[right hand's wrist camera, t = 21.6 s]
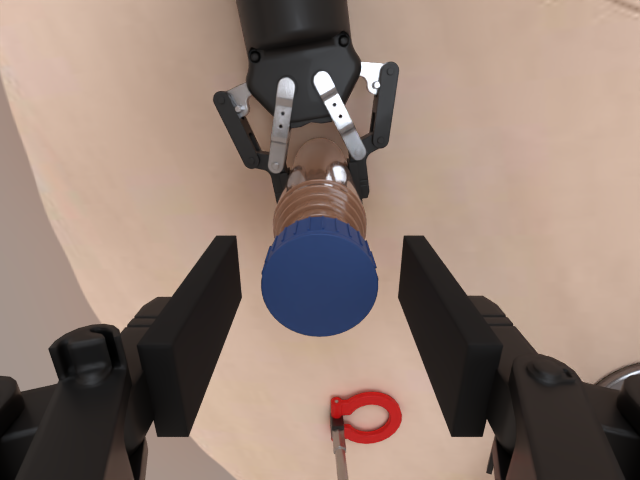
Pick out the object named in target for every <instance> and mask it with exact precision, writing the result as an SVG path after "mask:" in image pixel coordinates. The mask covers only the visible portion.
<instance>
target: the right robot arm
mask: <svg viewBox="0 0 640 480" xmlns="http://www.w3.org/2000/svg"><path fill="white" fill-rule="evenodd" d="M241 298H242V293H241V283H240V272H239V261H238V250H237V239H236V236H216V237H215V238H214V240H213V241H212V242H211V244H210V245H209V247H208V248H207V249H206V251H205V252H204V253H203V255H202V256H201V258H200V259H199V260H198V262H197V263H196V264H195V266H194V267H193V268H192V270H191V271H190V273H189V274H188V275H187V277H186V278H185V279H184V281H183V282H182V284H181V285H180V286H179V288H178V289H177V290H176V292H175V293H174V295H173V296H172V297H157V298H155V299H153V300H152V301H150V302H149V303H147V304H146V305H144V306H143V307H142V308H141V309H140V310H139V312H138V313H137V314H136V315H135V318H133V319H132V320H131V321H130V322H129V324H128V325H127V327H125V328H124V330H123V331H122V332H121V333H120V331H119V329H118V328H116V327H115V326H113V325H108V324H95V325H89V326H85V327H81V328H78V329H76V330H73V331H71V332H69V333H66V334H65V335H63V336H62V337H60V338H59V339H57V340H56V341H55V342H54V343H53V344H52V345H51V346H50V347H49V352H50V355H51V358H52V361H53V364H54V367H55V370H56V373H57V376H58V379H59V382H58V384H54V385H50V386H45V387H41V388H36V389H31V390H27V391H22V392H20V389H19V387H18V384H17V382H16V380H14V379H13V378H11V377H7V376H0V480H145V475H146V465H147V456H148V447H147V441H146V437H145V436H146V433H147V432H148V430H149V428H150V426H151V424H152V422H153V420H154V424H155V428H156V433H157V437H189V434H190V431H191V429H192V426H193V424H194V421H195V418H196V416H197V413H198V411H199V408H200V405H201V403H202V400H203V397H204V395H205V392H206V390H207V387H208V384H209V382H210V379H211V377H212V374H213V371H214V369H215V366H216V364H217V361H218V358H219V356H220V353H221V351H222V348H223V345H224V343H225V340H226V338H227V335H228V332H229V330H230V327H231V325H232V322H233V319H234V317H235V314H236V311H237V309H238V306H239V304H240V301H241ZM398 298H399V301H400V304H401V306H402V309H403V311H404V314H405V317H406V319H407V322H408V325H409V327H410V330H411V332H412V335H413V338H414V340H415V343H416V345H417V348H418V351H419V353H420V356H421V358H422V361H423V364H424V366H425V369H426V371H427V374H428V377H429V379H430V382H431V384H432V387H433V390H434V392H435V395H436V397H437V400H438V403H439V405H440V408H441V411H442V413H443V416H444V418H445V421H446V424H447V426H448V429H449V431H450V434H451V437H483V433H484V428H485V424H486V420H488V422H489V424H490V426H491V428H492V430H493V432H494V434H495V437H494V441H493V445H492V449H491V453H490V457H489V462H488V466H487V472H486V473H488V474H492V470H493V466H494V474H495V480H640V363H639V364H635V365H631V366H628V367H625V368H623V369H620V370H618V371H616V372H614V373H612V374H610V375H609V376H607V377H606V378H604V379H603V380H601V381H600V382H599V383H598V384H596V385H593V384H588V383H585V382H582V381H581V379H580V378H579V376H578V375H577V374H576V372H575V371H574V370H572V369H571V368H570V367H568V366H567V365H566V364H564V363H562V362H560V361H558V360H556V359H554V358H552V357H549V356H545V355H542V354H538V353H537V352H536V351H535V349H534V348H533V347H532V346H531V345H530V344H529V342H528V341H527V340H526V339H525V338H524V336H523V335H522V334H521V333H520V332H519V330H518V329H517V328H516V327H515V326H513V323H512V322H511V321H510V320H509V318H508V317H506V315H505V314H504V313H503V311H502V310H501V309H500V308H499V307H498V305H497V304H495V303H493V302H492V301H490V300H489V299H487V298H485V297H484V296H467V295H466V293H465V292H464V290H463V289H462V288H461V286H460V285H459V284H458V282H457V281H456V279H455V278H454V277H453V275H452V274H451V273H450V271H449V270H448V268H447V267H446V266H445V264H444V263H443V262H442V260H441V259H440V258H439V256H438V255H437V253H436V252H435V251H434V249H433V248H432V247H431V245H430V244H429V242H428V241H427V240H426V238H425V237H424V236H404V239H403V250H402V261H401V272H400V283H399V293H398Z"/></svg>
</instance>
